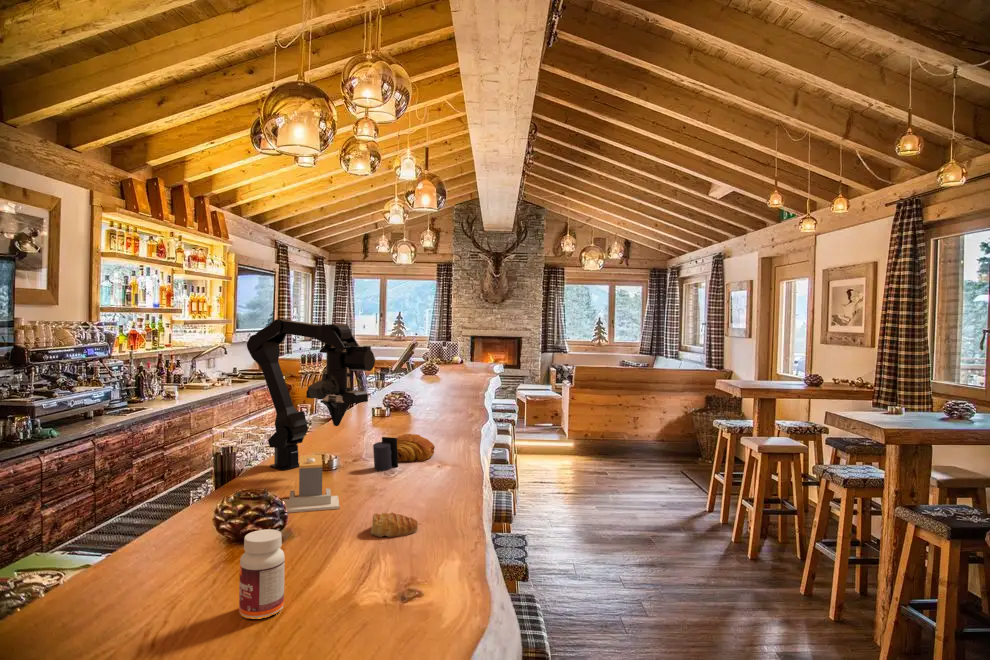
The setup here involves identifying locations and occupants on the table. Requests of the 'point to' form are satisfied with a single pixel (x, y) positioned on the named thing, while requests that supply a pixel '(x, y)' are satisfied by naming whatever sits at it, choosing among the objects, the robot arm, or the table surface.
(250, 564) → the pill bottle
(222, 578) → the table surface
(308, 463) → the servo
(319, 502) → the bracket
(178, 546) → the table surface
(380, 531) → the pastry
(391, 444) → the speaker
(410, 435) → the croissant
